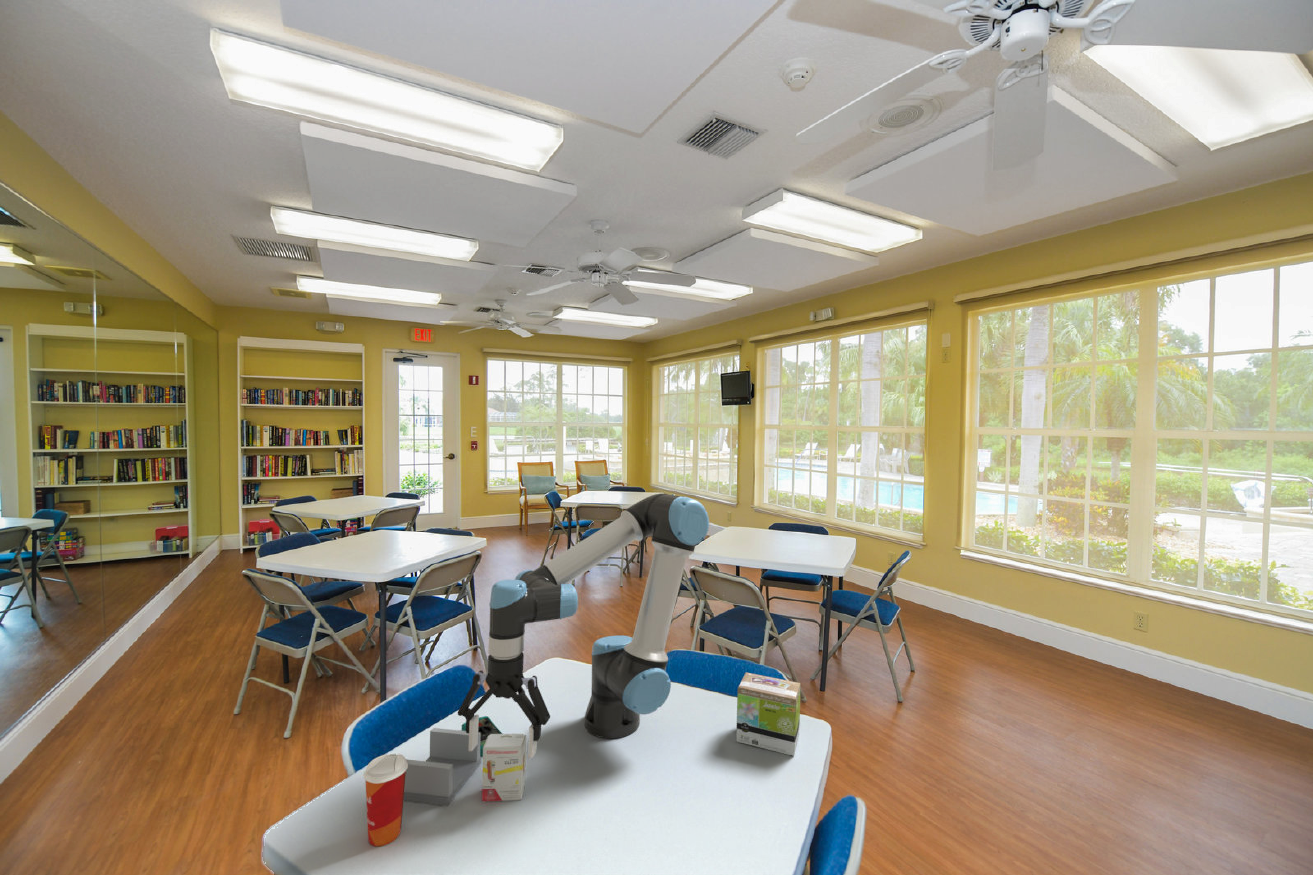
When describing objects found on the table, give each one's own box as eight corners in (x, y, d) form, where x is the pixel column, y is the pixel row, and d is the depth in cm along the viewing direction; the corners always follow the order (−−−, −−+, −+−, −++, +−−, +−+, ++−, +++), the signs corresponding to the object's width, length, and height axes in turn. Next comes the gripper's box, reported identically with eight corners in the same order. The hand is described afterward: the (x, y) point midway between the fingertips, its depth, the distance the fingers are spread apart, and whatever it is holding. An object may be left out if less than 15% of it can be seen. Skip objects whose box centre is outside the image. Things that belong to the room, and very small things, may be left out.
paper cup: (373, 822, 105) (374, 752, 105) (412, 820, 106) (414, 751, 106) (353, 852, 97) (355, 777, 97) (396, 850, 98) (398, 775, 98)
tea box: (735, 743, 135) (736, 686, 135) (744, 724, 144) (744, 670, 144) (795, 758, 129) (796, 697, 129) (800, 737, 138) (800, 680, 139)
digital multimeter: (487, 723, 143) (487, 712, 143) (509, 749, 131) (509, 737, 132) (460, 732, 139) (460, 721, 139) (480, 759, 127) (480, 747, 127)
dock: (480, 762, 125) (481, 731, 125) (447, 806, 110) (448, 770, 110) (434, 757, 127) (434, 726, 127) (394, 799, 112) (395, 764, 112)
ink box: (480, 802, 111) (481, 746, 111) (486, 787, 116) (487, 734, 116) (521, 801, 112) (522, 745, 112) (525, 786, 117) (526, 732, 117)
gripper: (566, 651, 116) (562, 747, 116) (461, 642, 120) (457, 735, 119) (555, 665, 109) (551, 768, 109) (443, 654, 112) (439, 754, 112)
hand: (502, 751), depth 114 cm, fingers open, 13 cm apart
